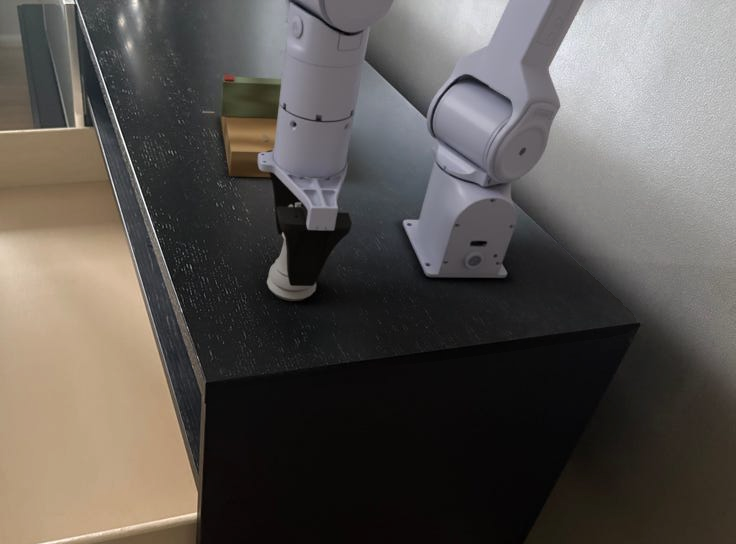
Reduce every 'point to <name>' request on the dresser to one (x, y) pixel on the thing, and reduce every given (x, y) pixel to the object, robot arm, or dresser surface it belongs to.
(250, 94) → the green flat block
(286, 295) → the rook chess piece
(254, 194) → the dresser surface
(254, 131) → the base
